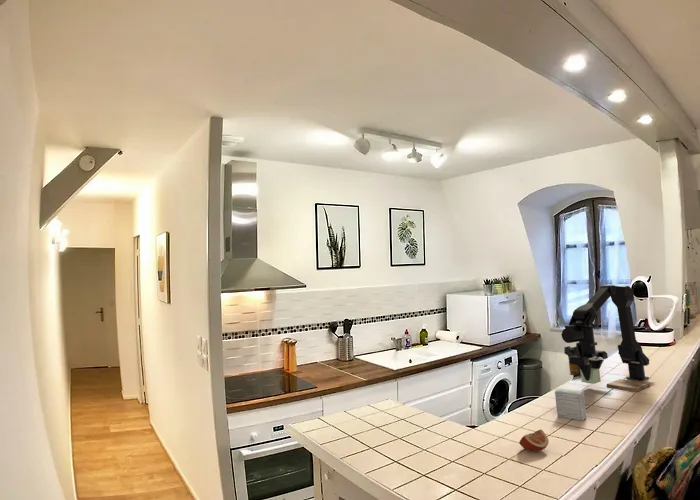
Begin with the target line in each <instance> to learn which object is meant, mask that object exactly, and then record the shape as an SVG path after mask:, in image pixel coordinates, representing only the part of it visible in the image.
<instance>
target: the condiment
mask: <svg viewBox="0 0 700 500" xmlns="http://www.w3.org/2000/svg"><path fill="white" fill-rule="evenodd" d="M570 347H571V348H573V346H570ZM574 356H575V355H574ZM576 356H577V355H576ZM567 357H568V356H567ZM569 358H570V357H568V360H569ZM568 366H569V373H567V376H568V375H569V376H579V377H581V372H580V367H579V366H577V365H575V364H569V363H568Z"/></svg>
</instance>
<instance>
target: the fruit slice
mask: <svg viewBox="0 0 700 500" xmlns="http://www.w3.org/2000/svg"><path fill="white" fill-rule="evenodd" d="M549 442H550V441H549V437H548V436H547V434H546V433H545V431H544V430H543V429H542V428H541V429H538V430H536V431H534V432H531V433H528V434H525V435H523V436H522V437H521V439H519V441H518V443H519V445H520V446H521V447H522V448H523V449H524V450H526V451H528V452H534V453H536V452H541V451H542V450H545V449H546V448H547V447H548V445H549Z"/></svg>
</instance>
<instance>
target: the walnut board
mask: <svg viewBox="0 0 700 500" xmlns="http://www.w3.org/2000/svg"><path fill="white" fill-rule="evenodd" d="M606 387H607V388H610V389H611V388H612V389H616V390H624V391H630V392H631V391H632V392H638V391H641V390H643V389H646V388H648V387H650V383H649V382H646V381H645V382H644V381H639V380H632V379H622V378H619V379H616V380H614V381H611V382H608V383H606Z"/></svg>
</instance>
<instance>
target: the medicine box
mask: <svg viewBox="0 0 700 500" xmlns="http://www.w3.org/2000/svg"><path fill="white" fill-rule="evenodd" d="M554 396H555V397H554V398H555V406H556V412H557V413H556V416H557V418H560V419H568V420H575V421H576V420H577V421H582V422H583V421H585V419H586V418H587V411H586V410H587V408H586V401H585V394H584V391H583V390H577V389H566V388H557V389H556V390H555V391H554Z"/></svg>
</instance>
